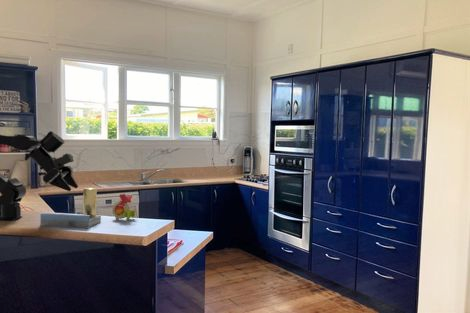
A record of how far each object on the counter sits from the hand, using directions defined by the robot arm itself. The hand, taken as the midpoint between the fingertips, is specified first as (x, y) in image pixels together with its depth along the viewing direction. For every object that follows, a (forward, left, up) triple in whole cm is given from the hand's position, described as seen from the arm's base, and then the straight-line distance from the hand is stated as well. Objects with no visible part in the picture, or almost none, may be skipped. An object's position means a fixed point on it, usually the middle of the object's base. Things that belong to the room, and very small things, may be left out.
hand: (73, 188), depth 152 cm
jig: (+3, -8, -12) cm, 15 cm away
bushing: (+6, +1, -12) cm, 14 cm away
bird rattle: (+19, +3, -12) cm, 23 cm away
